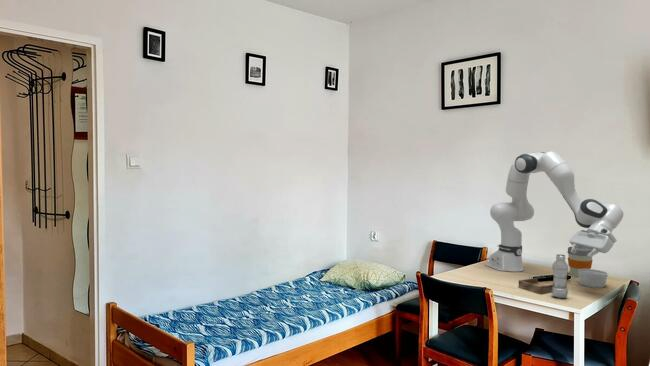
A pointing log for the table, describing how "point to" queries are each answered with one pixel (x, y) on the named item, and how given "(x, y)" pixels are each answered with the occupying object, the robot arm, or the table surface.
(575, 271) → the reusable coffee cup
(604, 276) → the ramekin
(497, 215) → the robot arm
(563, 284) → the plastic bottle
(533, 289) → the brown wooden tray
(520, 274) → the table surface
